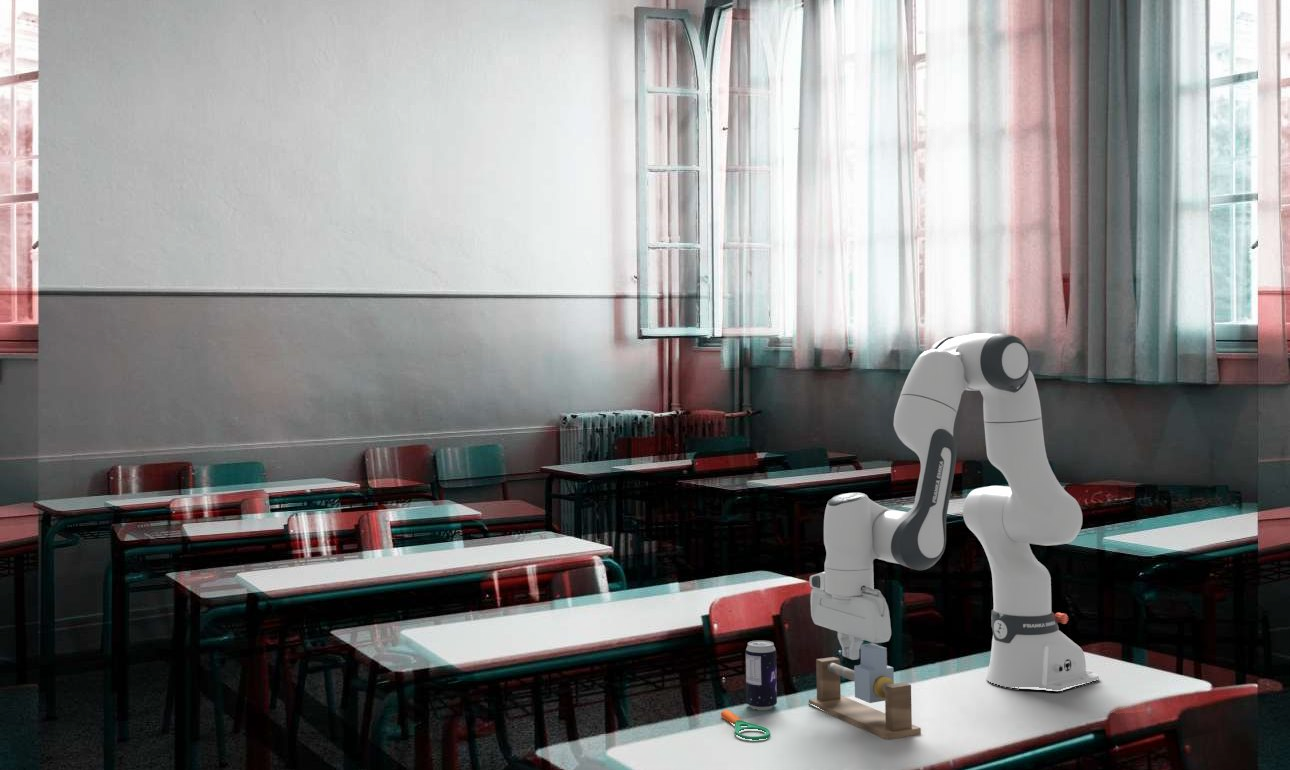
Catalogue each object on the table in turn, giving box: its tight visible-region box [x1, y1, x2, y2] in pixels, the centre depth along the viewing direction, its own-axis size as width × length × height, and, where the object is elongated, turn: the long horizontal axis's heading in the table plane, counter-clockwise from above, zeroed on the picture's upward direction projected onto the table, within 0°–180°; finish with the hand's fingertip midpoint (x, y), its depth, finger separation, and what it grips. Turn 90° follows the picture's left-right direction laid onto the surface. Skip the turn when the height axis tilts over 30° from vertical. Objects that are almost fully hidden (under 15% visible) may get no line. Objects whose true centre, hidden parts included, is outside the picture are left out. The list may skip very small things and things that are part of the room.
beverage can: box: [745, 640, 778, 711], centre depth 214 cm, size 6×6×12 cm
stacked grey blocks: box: [853, 642, 895, 704], centre depth 202 cm, size 4×5×9 cm
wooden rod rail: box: [808, 656, 922, 740], centre depth 206 cm, size 24×7×9 cm, turn 25°
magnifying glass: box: [720, 709, 771, 740], centre depth 201 cm, size 15×6×2 cm, turn 19°
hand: (850, 657), depth 209 cm, fingers closed
